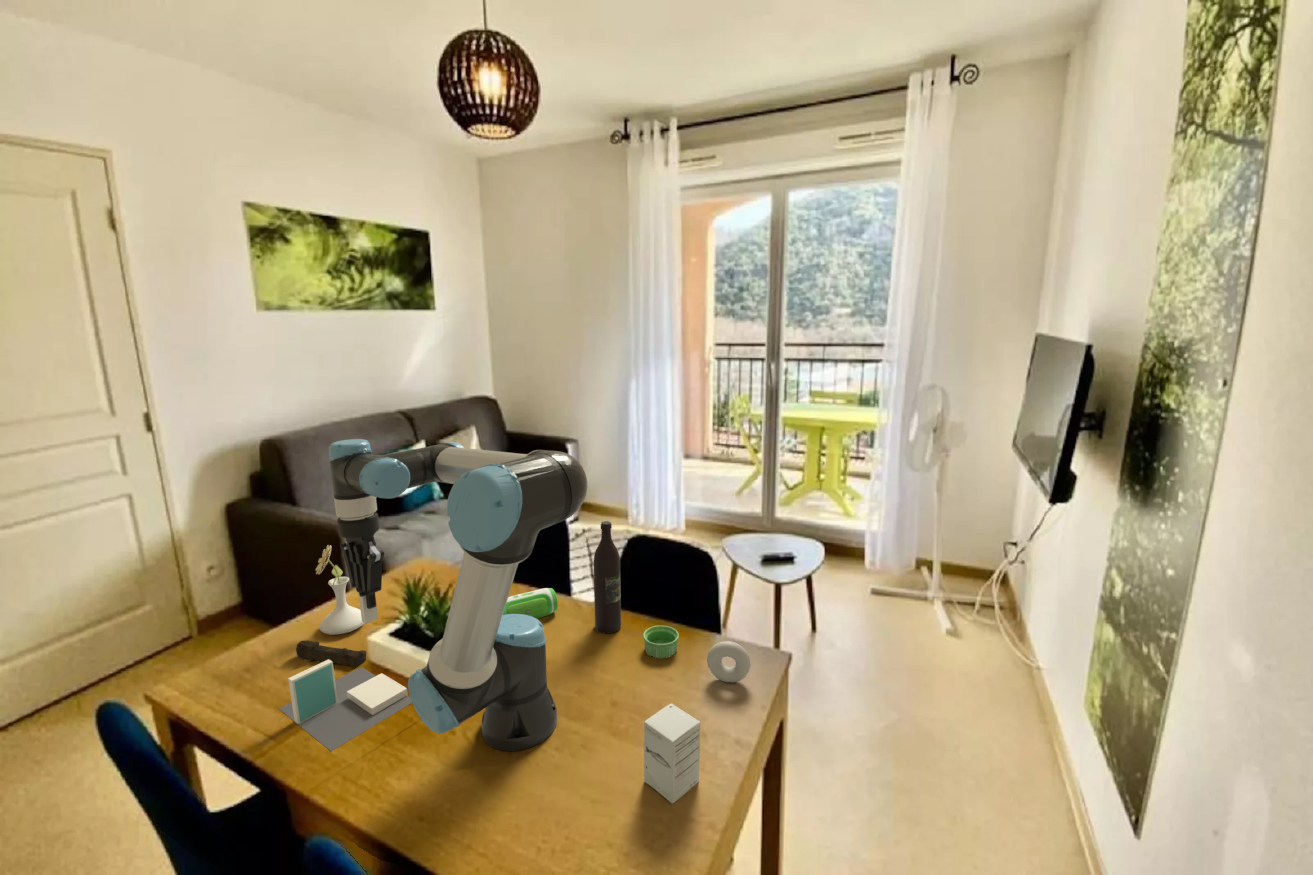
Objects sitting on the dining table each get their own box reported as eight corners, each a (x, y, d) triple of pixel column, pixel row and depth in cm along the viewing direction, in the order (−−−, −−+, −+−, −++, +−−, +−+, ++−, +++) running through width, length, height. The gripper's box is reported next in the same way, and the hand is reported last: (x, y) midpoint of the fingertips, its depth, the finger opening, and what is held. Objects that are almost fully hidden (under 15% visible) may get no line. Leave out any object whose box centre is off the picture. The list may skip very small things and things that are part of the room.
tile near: (338, 703, 122) (332, 661, 120) (298, 724, 116) (292, 681, 114) (334, 700, 123) (328, 659, 121) (294, 721, 117) (288, 678, 115)
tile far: (382, 679, 131) (407, 695, 125) (347, 698, 124) (372, 715, 119) (381, 673, 130) (407, 688, 125) (346, 691, 124) (371, 708, 118)
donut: (705, 682, 130) (706, 643, 128) (707, 673, 134) (708, 635, 132) (749, 689, 128) (750, 649, 126) (750, 680, 131) (751, 640, 129)
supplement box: (642, 782, 102) (642, 720, 100) (671, 760, 107) (671, 701, 105) (672, 806, 97) (672, 742, 94) (700, 782, 102) (701, 720, 100)
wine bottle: (605, 637, 149) (603, 529, 143) (589, 626, 154) (587, 522, 148) (626, 627, 154) (625, 523, 148) (610, 617, 159) (608, 516, 153)
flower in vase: (329, 619, 159) (318, 534, 154) (373, 615, 161) (363, 532, 156) (310, 644, 146) (298, 553, 141) (358, 640, 148) (347, 550, 143)
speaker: (496, 634, 151) (495, 608, 150) (489, 622, 157) (488, 597, 156) (558, 616, 160) (558, 592, 158) (549, 606, 166) (548, 582, 165)
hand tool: (368, 662, 139) (366, 645, 138) (356, 672, 135) (354, 654, 134) (307, 651, 144) (304, 634, 143) (293, 660, 140) (290, 643, 139)
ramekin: (636, 649, 144) (635, 633, 143) (662, 636, 150) (662, 621, 149) (659, 665, 137) (659, 648, 136) (686, 651, 143) (686, 635, 142)
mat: (416, 702, 123) (415, 700, 123) (331, 754, 109) (331, 751, 109) (361, 669, 136) (361, 666, 135) (278, 711, 121) (278, 708, 121)
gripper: (392, 515, 116) (404, 621, 120) (358, 504, 123) (370, 605, 127) (356, 525, 110) (369, 637, 114) (322, 514, 117) (336, 619, 121)
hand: (370, 620), depth 121 cm, fingers closed
